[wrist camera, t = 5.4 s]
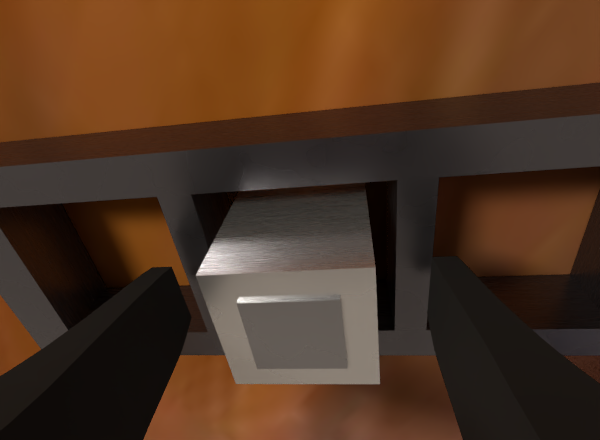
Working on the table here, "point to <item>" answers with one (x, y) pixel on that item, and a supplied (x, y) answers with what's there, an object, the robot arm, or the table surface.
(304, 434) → the table surface
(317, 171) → the rack rail
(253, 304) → the block
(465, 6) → the table surface
